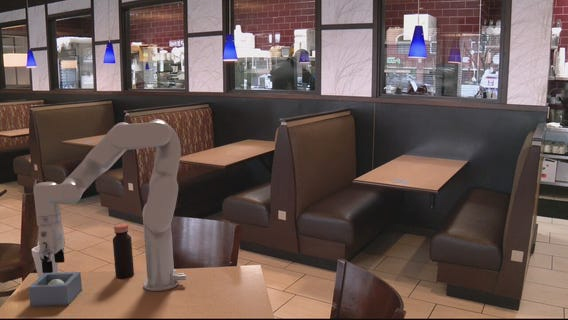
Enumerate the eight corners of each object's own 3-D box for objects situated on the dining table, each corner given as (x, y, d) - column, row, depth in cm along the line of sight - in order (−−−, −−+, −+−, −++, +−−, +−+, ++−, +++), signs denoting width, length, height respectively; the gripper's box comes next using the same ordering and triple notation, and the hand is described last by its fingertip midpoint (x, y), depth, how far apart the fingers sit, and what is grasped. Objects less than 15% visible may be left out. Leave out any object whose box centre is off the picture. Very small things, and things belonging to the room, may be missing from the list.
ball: (69, 292, 180) (67, 276, 180) (62, 299, 175) (60, 282, 174) (51, 293, 180) (50, 276, 179) (44, 300, 174) (42, 283, 173)
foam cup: (67, 276, 198) (64, 243, 196) (54, 285, 189) (50, 251, 187) (43, 275, 199) (40, 243, 197) (29, 285, 190) (26, 251, 188)
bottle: (136, 276, 195) (132, 226, 192) (117, 280, 192) (113, 229, 189) (131, 271, 201) (128, 221, 198) (114, 274, 198) (109, 224, 195)
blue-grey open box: (82, 290, 184) (80, 271, 183) (68, 305, 171) (66, 285, 170) (46, 291, 184) (44, 273, 183) (30, 307, 171) (28, 287, 170)
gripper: (49, 225, 165) (54, 276, 167) (70, 212, 182) (74, 258, 184) (25, 226, 165) (31, 277, 167) (48, 212, 182) (53, 259, 184)
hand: (54, 267), depth 176 cm, fingers open, 9 cm apart
